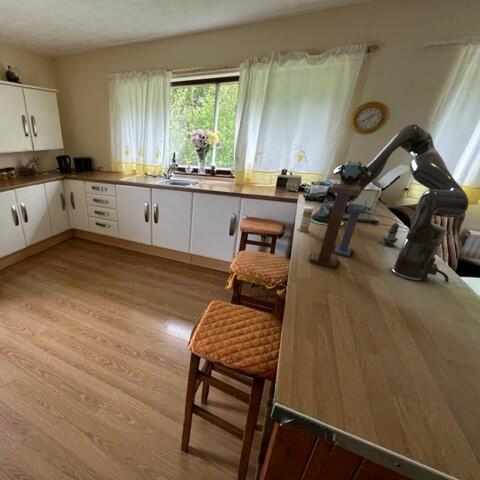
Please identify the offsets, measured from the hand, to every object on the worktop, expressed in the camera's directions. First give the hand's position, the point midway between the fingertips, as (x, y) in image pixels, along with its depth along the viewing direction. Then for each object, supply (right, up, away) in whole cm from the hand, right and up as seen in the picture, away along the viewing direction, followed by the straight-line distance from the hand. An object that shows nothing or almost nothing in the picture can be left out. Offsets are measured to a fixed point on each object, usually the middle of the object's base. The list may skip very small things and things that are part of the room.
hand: (353, 163), depth 104 cm
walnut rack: (-9, -40, +5) cm, 42 cm away
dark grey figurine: (+34, -34, +23) cm, 53 cm away
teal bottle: (-2, -4, 0) cm, 4 cm away
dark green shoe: (+25, -19, +57) cm, 65 cm away
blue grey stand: (+6, -37, +15) cm, 40 cm away
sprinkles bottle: (+2, -26, +40) cm, 48 cm away
